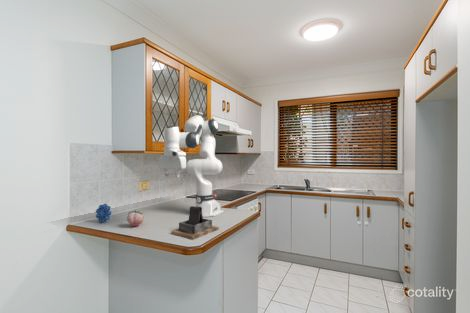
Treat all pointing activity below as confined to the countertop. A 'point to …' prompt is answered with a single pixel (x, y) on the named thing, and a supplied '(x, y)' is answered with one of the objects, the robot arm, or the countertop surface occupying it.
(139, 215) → the decorative fruit
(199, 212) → the phone stand
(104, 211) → the grapes
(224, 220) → the countertop surface
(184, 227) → the socket board
